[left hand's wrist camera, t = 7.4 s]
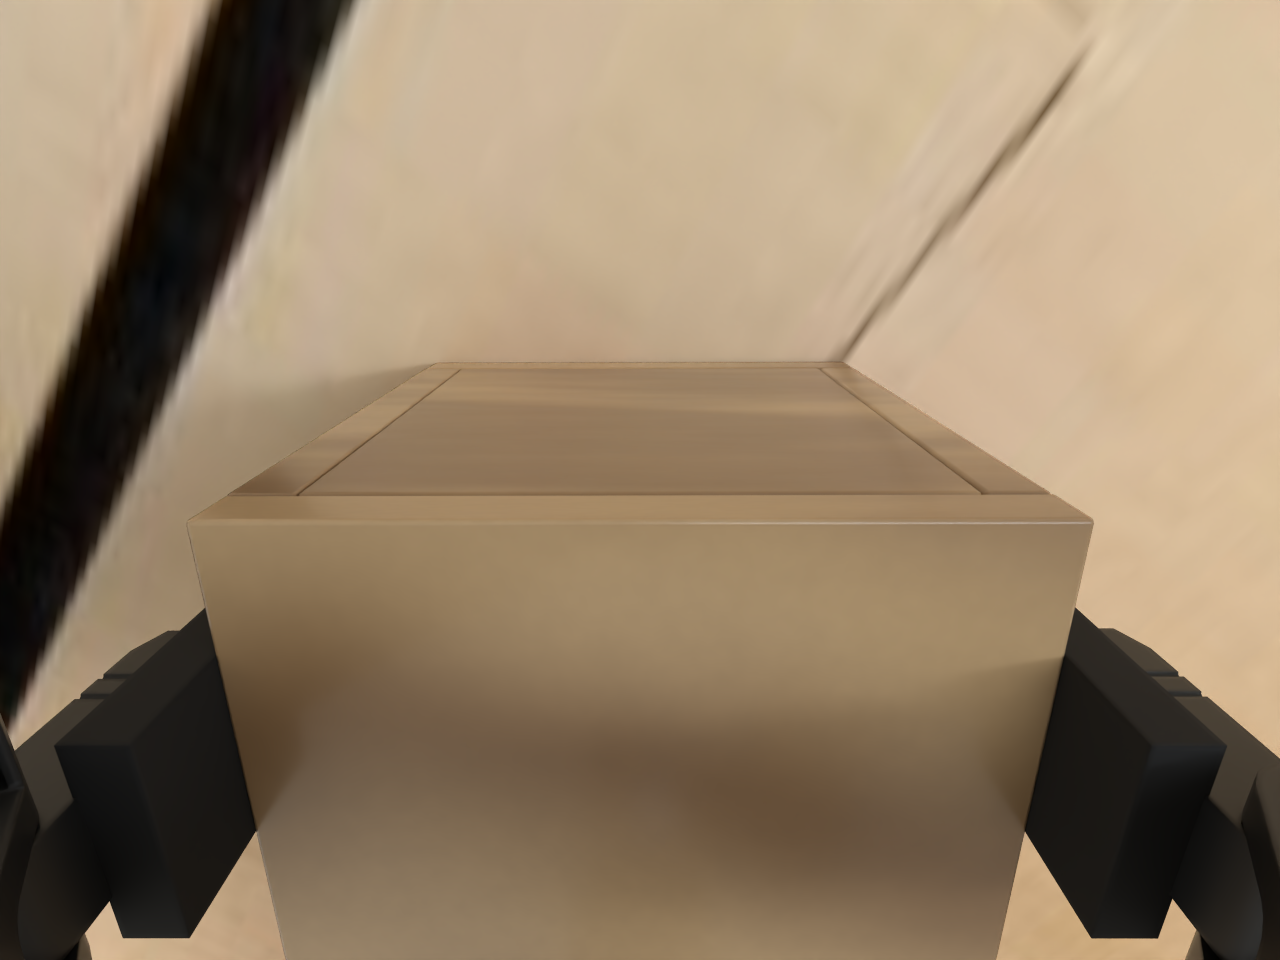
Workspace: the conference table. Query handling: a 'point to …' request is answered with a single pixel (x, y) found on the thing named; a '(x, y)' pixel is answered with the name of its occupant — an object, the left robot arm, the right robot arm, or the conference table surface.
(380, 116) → the conference table surface
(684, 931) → the cabinet
